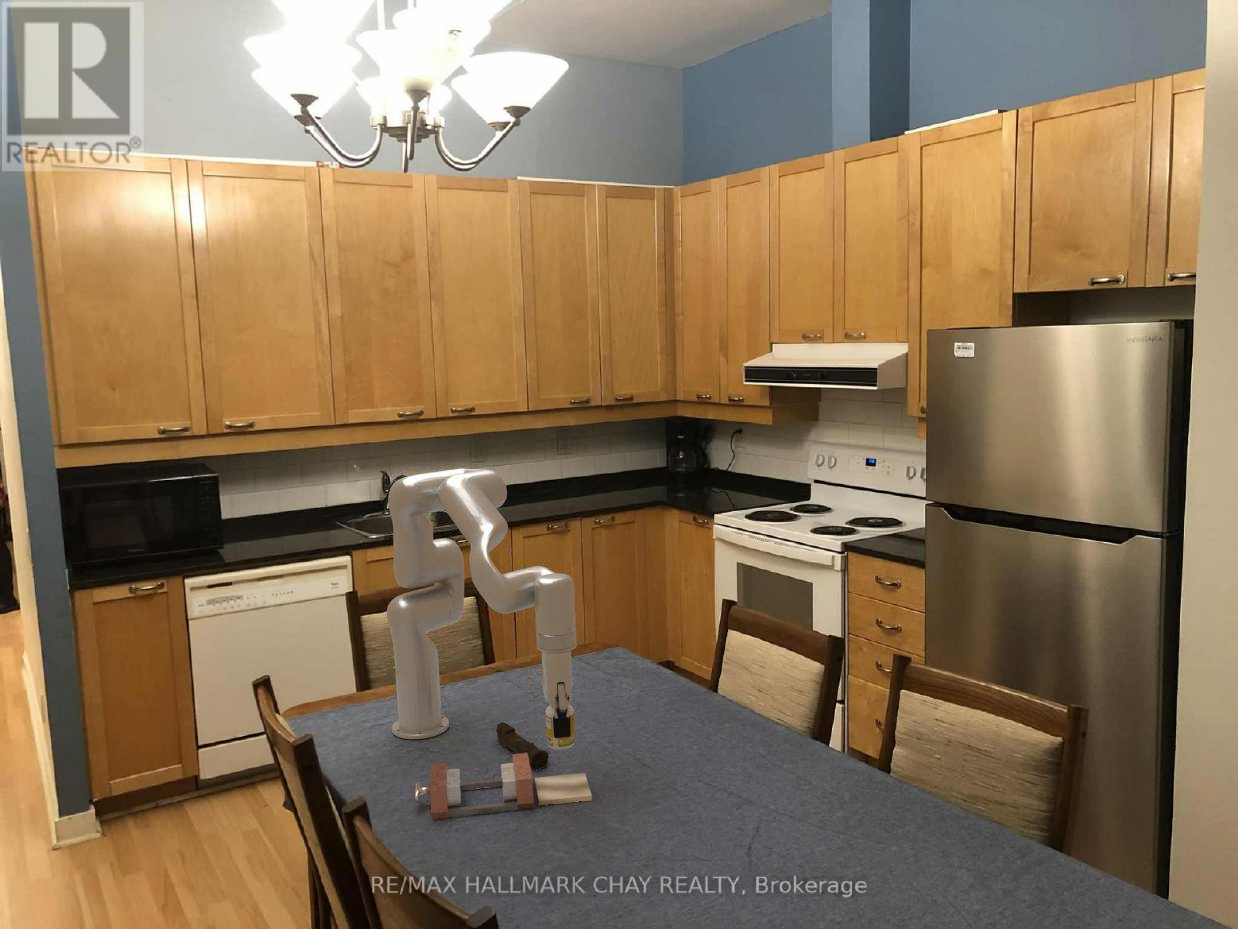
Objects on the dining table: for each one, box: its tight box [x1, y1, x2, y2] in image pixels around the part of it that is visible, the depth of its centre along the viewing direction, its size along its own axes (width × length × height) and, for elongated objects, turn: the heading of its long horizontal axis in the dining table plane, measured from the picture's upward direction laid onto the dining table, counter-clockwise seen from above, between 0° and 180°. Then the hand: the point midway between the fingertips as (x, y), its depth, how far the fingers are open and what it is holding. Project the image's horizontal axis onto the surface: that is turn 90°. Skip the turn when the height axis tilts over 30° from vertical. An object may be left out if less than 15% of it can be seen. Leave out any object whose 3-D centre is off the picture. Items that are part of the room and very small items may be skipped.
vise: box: [414, 753, 535, 820], centre depth 194 cm, size 12×22×6 cm, turn 99°
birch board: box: [534, 772, 593, 807], centre depth 197 cm, size 10×10×1 cm
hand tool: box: [495, 721, 549, 771], centre depth 215 cm, size 19×4×5 cm, turn 32°
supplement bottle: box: [545, 698, 576, 751], centre depth 195 cm, size 5×5×10 cm
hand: (560, 729), depth 196 cm, fingers closed on supplement bottle, 5 cm apart
